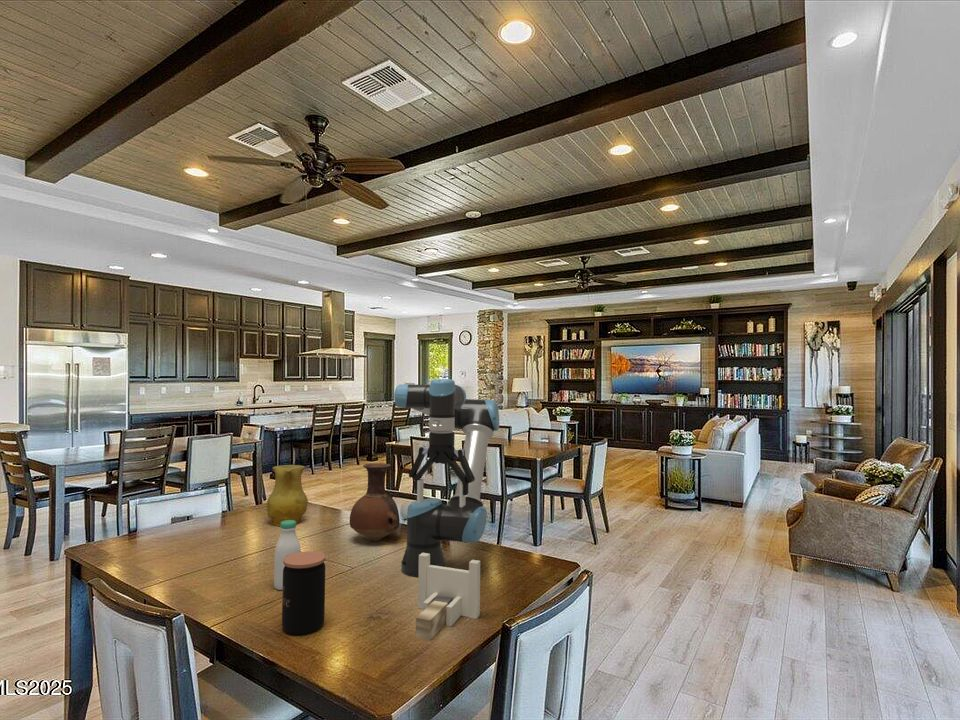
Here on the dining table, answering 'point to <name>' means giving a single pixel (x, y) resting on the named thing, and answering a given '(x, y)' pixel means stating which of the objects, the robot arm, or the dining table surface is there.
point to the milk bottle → (284, 550)
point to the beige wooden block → (432, 618)
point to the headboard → (450, 588)
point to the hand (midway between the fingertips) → (441, 504)
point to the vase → (375, 506)
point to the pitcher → (287, 495)
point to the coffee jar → (303, 592)
